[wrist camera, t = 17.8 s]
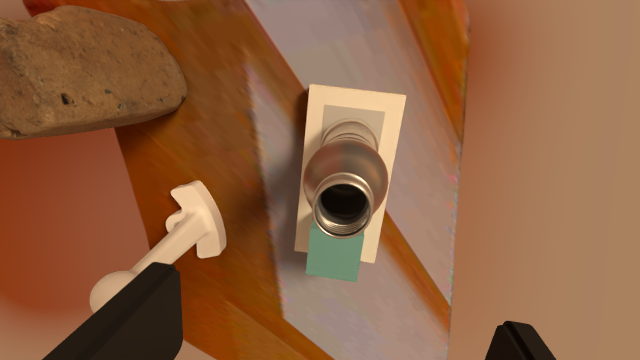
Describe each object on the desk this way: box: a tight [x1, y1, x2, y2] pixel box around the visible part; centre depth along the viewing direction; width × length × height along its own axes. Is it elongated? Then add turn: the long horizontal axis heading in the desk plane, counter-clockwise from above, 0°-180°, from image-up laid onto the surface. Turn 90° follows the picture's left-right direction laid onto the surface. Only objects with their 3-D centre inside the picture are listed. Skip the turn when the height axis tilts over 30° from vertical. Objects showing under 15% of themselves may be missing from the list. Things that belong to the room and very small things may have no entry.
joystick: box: [90, 181, 226, 313], centre depth 37 cm, size 11×8×20 cm
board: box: [294, 84, 406, 263], centre depth 40 cm, size 22×11×3 cm, turn 174°
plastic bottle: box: [303, 118, 389, 239], centre depth 27 cm, size 6×7×20 cm
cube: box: [306, 219, 364, 282], centre depth 38 cm, size 6×6×6 cm
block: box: [0, 5, 187, 140], centre depth 30 cm, size 11×8×20 cm
